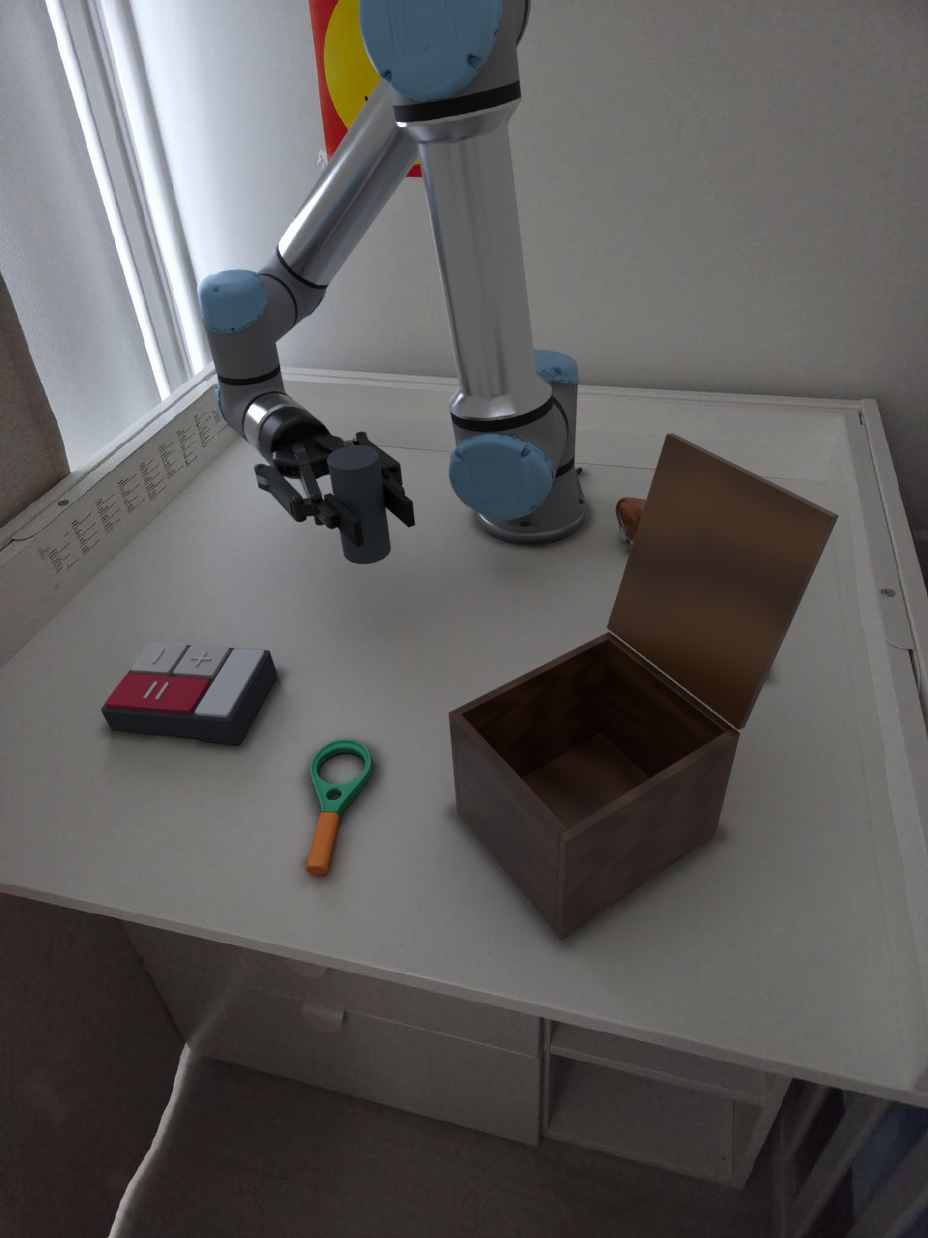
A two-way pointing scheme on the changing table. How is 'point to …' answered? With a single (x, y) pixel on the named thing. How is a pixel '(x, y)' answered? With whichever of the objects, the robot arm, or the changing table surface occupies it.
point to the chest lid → (716, 575)
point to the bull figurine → (629, 516)
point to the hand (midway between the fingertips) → (384, 524)
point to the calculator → (192, 691)
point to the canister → (361, 500)
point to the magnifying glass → (333, 801)
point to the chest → (589, 777)
